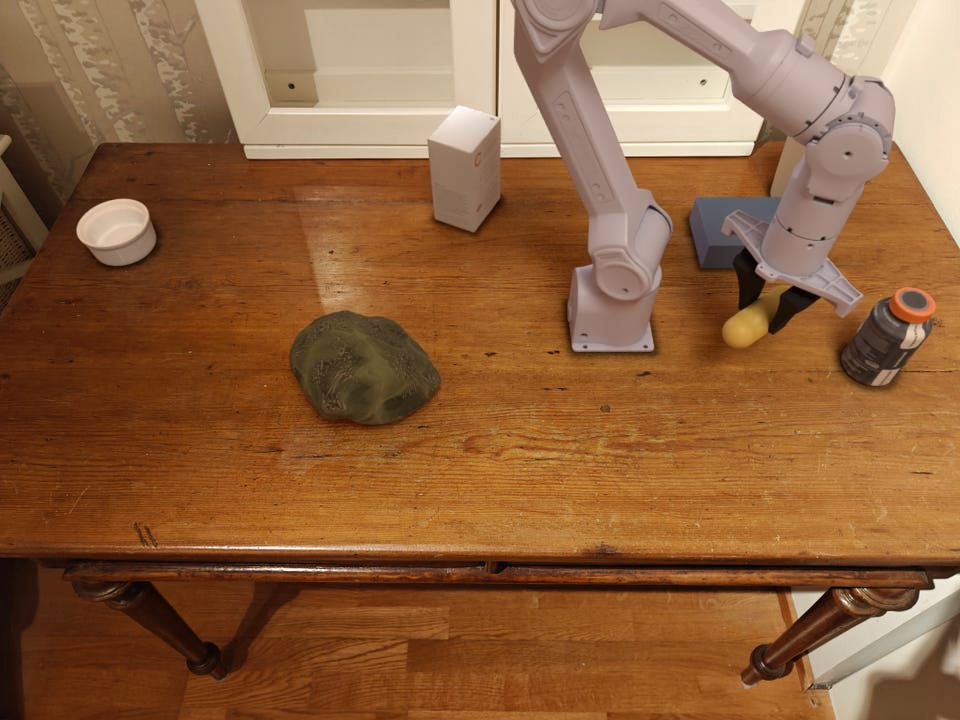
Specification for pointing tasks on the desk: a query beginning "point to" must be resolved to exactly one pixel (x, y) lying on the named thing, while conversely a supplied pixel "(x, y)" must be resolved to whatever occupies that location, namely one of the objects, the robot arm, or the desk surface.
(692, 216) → the block
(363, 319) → the decorative rock
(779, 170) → the coffee cup
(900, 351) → the pill bottle
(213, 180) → the desk surface
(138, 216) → the ramekin
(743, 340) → the yellow capsule pill
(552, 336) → the desk surface
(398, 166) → the desk surface
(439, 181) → the small box
